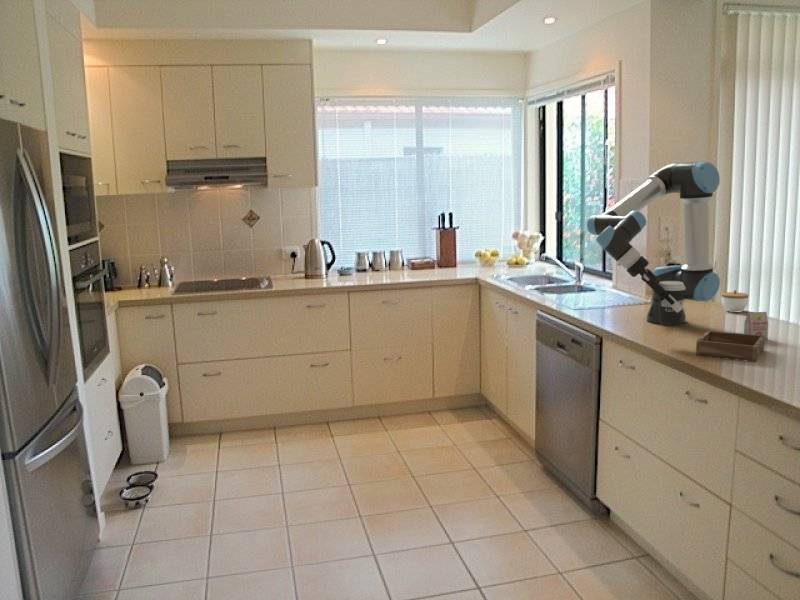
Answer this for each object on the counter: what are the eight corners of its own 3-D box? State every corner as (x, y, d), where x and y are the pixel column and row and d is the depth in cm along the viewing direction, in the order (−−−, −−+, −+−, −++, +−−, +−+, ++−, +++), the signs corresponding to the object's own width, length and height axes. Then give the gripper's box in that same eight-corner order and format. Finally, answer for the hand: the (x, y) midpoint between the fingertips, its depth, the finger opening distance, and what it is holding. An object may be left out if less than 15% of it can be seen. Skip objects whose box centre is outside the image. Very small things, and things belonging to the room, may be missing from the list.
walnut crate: (707, 344, 246) (708, 330, 245) (763, 350, 236) (764, 335, 235) (695, 355, 232) (696, 340, 231) (755, 361, 221) (756, 346, 221)
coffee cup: (651, 325, 244) (652, 283, 242) (662, 320, 251) (663, 279, 249) (678, 328, 238) (679, 285, 235) (688, 323, 245) (690, 281, 242)
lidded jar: (721, 313, 301) (722, 291, 300) (719, 308, 311) (720, 288, 310) (748, 314, 297) (750, 292, 296) (746, 309, 307) (747, 288, 306)
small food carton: (743, 338, 254) (745, 311, 253) (762, 337, 254) (763, 310, 253) (748, 340, 251) (750, 313, 249) (767, 339, 251) (768, 312, 249)
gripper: (626, 265, 257) (670, 308, 254) (624, 274, 236) (672, 321, 234) (641, 251, 254) (687, 294, 251) (640, 258, 234) (689, 306, 231)
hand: (679, 307), depth 242 cm, fingers closed on coffee cup, 9 cm apart
